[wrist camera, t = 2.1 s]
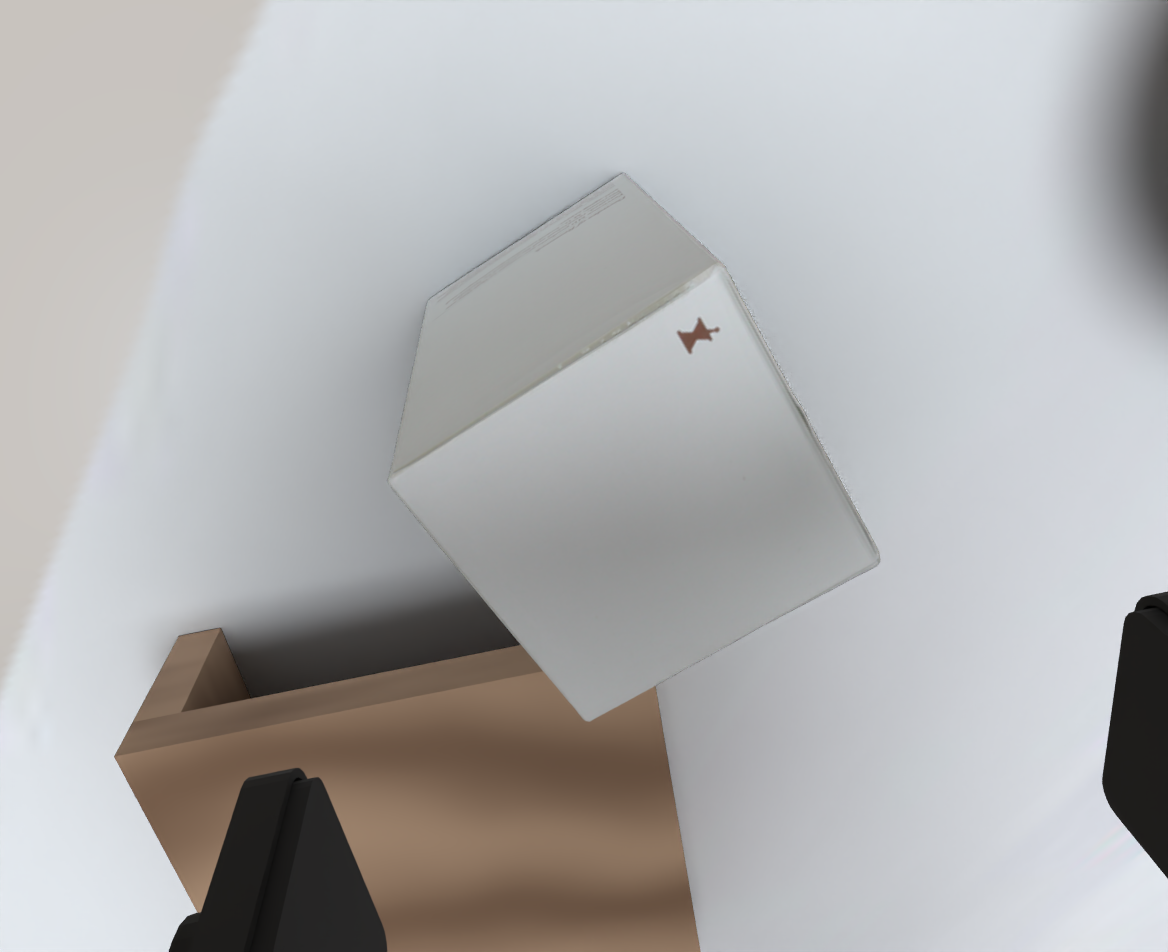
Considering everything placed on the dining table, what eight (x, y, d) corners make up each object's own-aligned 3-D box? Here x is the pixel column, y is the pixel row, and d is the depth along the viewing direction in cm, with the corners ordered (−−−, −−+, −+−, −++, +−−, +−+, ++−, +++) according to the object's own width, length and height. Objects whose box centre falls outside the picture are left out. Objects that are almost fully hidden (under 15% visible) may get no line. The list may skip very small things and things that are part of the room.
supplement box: (419, 298, 27) (368, 473, 16) (627, 165, 26) (734, 249, 15) (547, 480, 30) (581, 736, 19) (737, 367, 29) (897, 566, 18)
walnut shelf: (687, 921, 40) (717, 1055, 35) (341, 991, 40) (317, 1137, 35) (621, 548, 32) (648, 650, 26) (178, 636, 31) (113, 756, 26)
